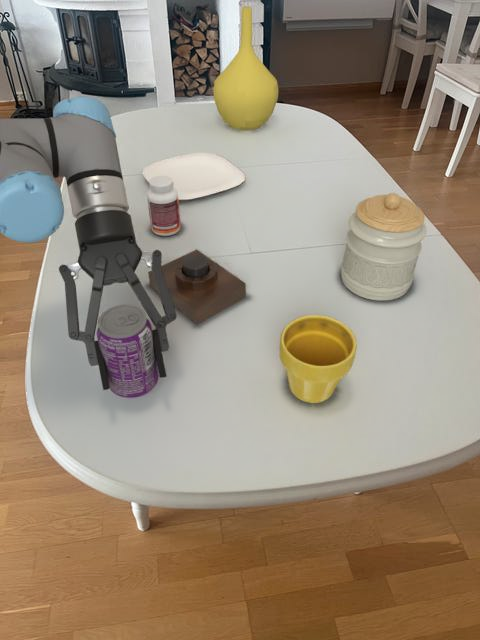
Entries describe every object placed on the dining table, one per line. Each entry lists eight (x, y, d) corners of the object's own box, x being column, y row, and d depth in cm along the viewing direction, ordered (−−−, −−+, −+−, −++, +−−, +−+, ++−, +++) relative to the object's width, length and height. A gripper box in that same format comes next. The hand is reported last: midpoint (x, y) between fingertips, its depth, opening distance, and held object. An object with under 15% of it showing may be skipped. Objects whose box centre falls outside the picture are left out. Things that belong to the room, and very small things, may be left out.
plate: (255, 186, 124) (255, 180, 123) (173, 211, 115) (172, 204, 114) (210, 153, 137) (210, 147, 136) (134, 173, 129) (133, 166, 128)
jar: (389, 312, 90) (411, 223, 78) (326, 282, 96) (338, 196, 84) (423, 278, 97) (448, 192, 85) (362, 252, 103) (378, 168, 92)
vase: (232, 141, 143) (232, 19, 123) (203, 119, 155) (198, 4, 135) (288, 129, 150) (296, 11, 130) (256, 108, 162) (259, -2, 142)
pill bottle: (186, 231, 109) (182, 182, 102) (160, 240, 106) (154, 191, 99) (171, 218, 113) (166, 170, 105) (146, 227, 110) (139, 179, 103)
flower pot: (342, 421, 72) (352, 374, 66) (269, 405, 74) (272, 358, 68) (350, 368, 80) (360, 321, 73) (284, 355, 82) (289, 308, 75)
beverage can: (151, 358, 78) (142, 297, 70) (164, 392, 73) (156, 330, 65) (104, 372, 76) (89, 309, 68) (115, 407, 71) (100, 345, 63)
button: (178, 270, 91) (177, 260, 89) (198, 261, 93) (197, 251, 92) (193, 282, 88) (192, 272, 87) (213, 272, 91) (213, 262, 89)
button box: (149, 286, 95) (146, 263, 92) (197, 262, 100) (196, 241, 97) (196, 324, 87) (195, 301, 84) (245, 297, 93) (246, 275, 89)
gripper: (20, 219, 64) (55, 401, 64) (176, 198, 69) (211, 367, 68) (30, 233, 72) (62, 397, 71) (171, 213, 76) (202, 367, 76)
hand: (135, 382), depth 70 cm, fingers closed on beverage can, 7 cm apart
